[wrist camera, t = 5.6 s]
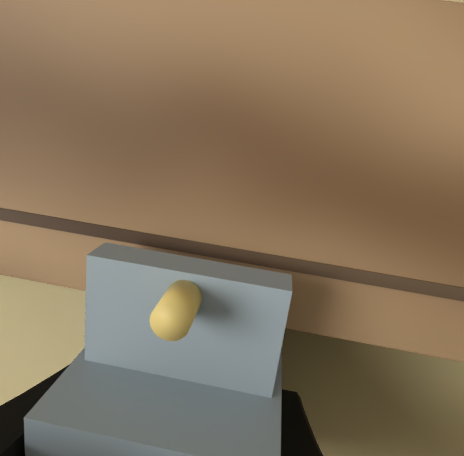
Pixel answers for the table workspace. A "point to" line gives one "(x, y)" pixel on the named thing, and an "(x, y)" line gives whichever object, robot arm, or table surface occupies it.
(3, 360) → the table surface
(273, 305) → the grey stepped block
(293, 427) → the robot arm
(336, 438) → the table surface
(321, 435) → the table surface
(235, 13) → the board
